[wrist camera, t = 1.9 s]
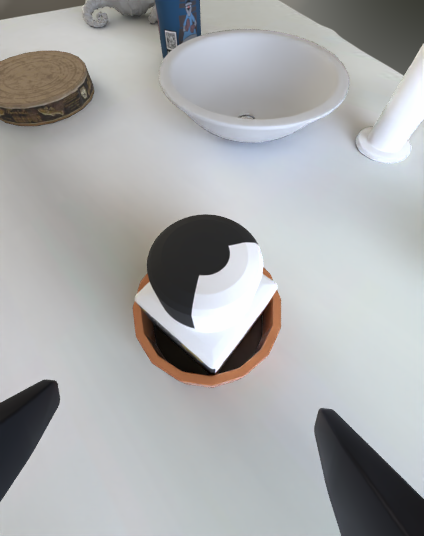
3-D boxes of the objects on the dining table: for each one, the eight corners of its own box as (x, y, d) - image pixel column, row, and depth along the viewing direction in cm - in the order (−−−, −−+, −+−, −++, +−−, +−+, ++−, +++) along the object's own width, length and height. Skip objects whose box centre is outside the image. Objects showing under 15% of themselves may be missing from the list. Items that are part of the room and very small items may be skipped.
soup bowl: (274, 67, 44) (283, 17, 38) (362, 146, 34) (393, 95, 28) (146, 97, 40) (135, 46, 34) (204, 199, 30) (202, 150, 24)
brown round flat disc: (-30, 121, 37) (-49, 99, 34) (23, 68, 44) (11, 47, 41) (70, 130, 36) (58, 109, 33) (107, 75, 43) (100, 53, 40)
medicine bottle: (153, 324, 22) (100, 261, 12) (203, 271, 25) (197, 179, 14) (213, 378, 20) (215, 360, 10) (261, 314, 23) (304, 244, 12)
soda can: (174, 52, 47) (163, -49, 36) (207, 59, 46) (206, -43, 35) (157, 69, 44) (139, -35, 33) (192, 77, 43) (185, -29, 32)
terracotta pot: (194, 418, 19) (189, 424, 15) (125, 308, 23) (107, 290, 19) (294, 331, 22) (312, 316, 18) (218, 248, 26) (219, 221, 22)
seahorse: (90, 30, 49) (180, -6, 50) (68, -15, 50) (157, -50, 51) (101, 55, 54) (183, 22, 55) (81, 14, 55) (161, -18, 56)
